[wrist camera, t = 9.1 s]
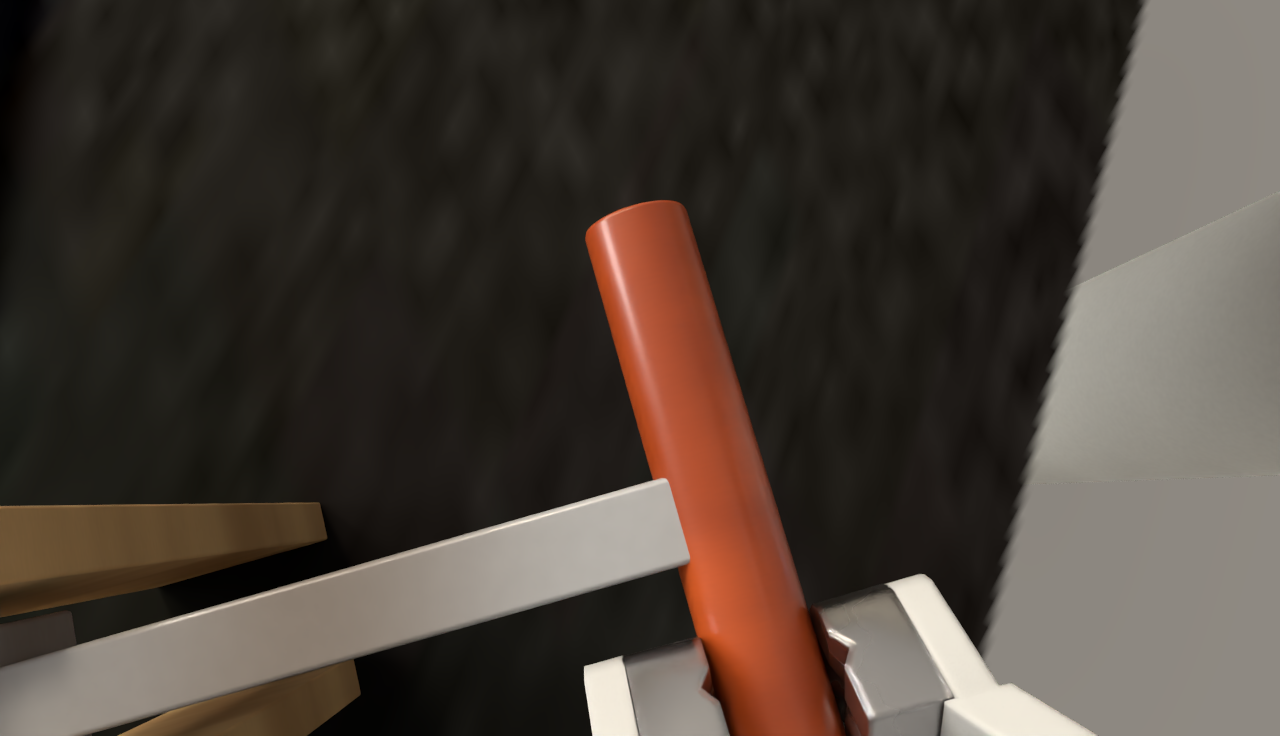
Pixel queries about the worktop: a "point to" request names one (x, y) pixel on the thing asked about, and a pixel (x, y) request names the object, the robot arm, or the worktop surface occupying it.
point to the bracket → (157, 556)
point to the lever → (512, 548)
